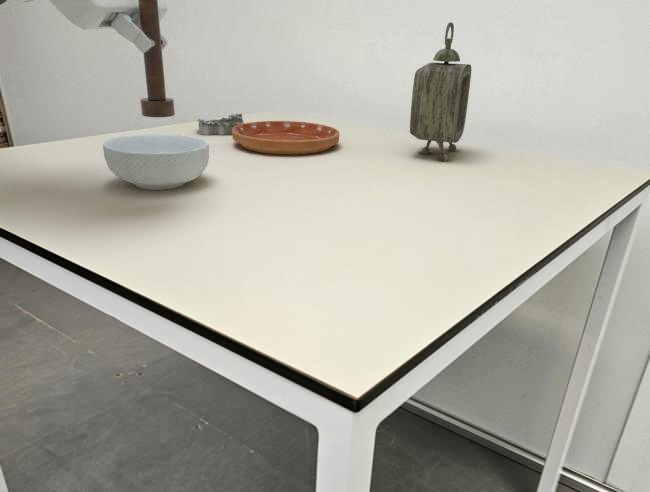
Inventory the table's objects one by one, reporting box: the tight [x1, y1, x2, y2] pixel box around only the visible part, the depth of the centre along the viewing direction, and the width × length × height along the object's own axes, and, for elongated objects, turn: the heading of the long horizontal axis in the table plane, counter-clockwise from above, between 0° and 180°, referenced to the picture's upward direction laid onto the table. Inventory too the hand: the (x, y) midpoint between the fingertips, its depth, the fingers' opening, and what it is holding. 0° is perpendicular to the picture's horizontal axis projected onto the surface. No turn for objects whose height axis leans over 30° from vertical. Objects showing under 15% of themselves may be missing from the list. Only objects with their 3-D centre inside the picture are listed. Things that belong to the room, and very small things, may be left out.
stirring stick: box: [138, 0, 176, 118], centre depth 80 cm, size 4×4×15 cm
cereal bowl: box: [102, 133, 210, 191], centre depth 99 cm, size 17×17×7 cm
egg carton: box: [197, 113, 245, 136], centre depth 141 cm, size 11×8×4 cm
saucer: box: [231, 120, 340, 156], centre depth 130 cm, size 23×23×4 cm
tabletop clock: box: [409, 21, 472, 162], centre depth 120 cm, size 14×9×25 cm, turn 160°
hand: (156, 48), depth 79 cm, fingers closed on stirring stick, 2 cm apart
